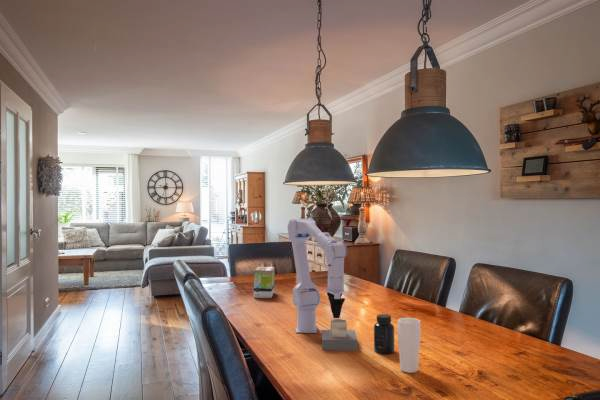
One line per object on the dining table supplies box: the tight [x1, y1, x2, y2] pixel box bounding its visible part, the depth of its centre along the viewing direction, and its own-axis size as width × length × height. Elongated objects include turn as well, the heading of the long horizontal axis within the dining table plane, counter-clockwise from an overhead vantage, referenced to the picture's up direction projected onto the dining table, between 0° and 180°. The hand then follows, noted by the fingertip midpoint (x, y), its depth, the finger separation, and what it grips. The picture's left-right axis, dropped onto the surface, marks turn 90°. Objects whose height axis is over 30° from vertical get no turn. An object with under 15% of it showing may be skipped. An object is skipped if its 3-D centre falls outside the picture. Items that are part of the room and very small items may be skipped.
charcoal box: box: [321, 329, 358, 352], centre depth 157 cm, size 12×12×4 cm
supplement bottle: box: [373, 313, 395, 355], centre depth 151 cm, size 7×7×12 cm
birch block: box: [330, 318, 348, 337], centre depth 157 cm, size 5×5×5 cm
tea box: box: [253, 266, 276, 299], centre depth 242 cm, size 15×10×15 cm, turn 179°
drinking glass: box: [397, 317, 422, 374], centre depth 134 cm, size 7×7×15 cm
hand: (335, 315), depth 158 cm, fingers open, 7 cm apart
